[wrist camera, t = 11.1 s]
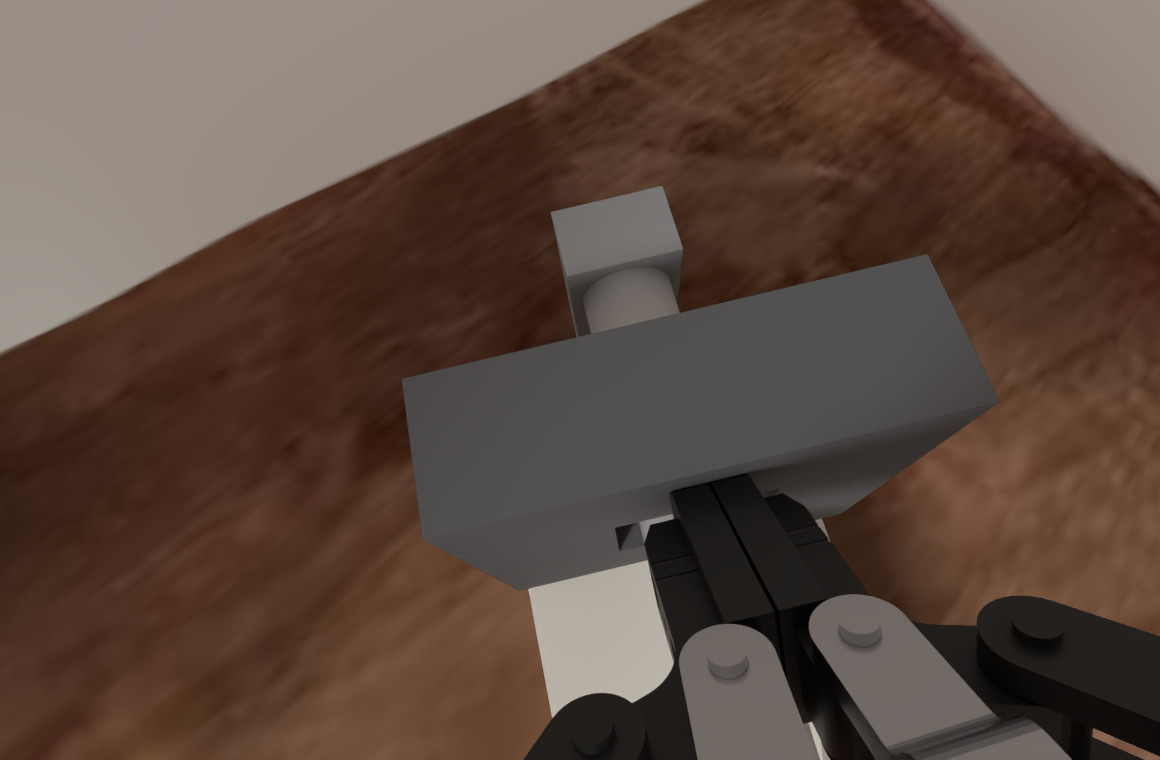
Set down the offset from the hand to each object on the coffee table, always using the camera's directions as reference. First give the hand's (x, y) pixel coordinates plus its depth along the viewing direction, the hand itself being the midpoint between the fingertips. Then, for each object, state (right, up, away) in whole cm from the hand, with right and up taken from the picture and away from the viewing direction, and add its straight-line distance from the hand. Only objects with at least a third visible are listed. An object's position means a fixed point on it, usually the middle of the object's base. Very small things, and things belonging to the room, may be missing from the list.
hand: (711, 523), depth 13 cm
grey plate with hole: (0, -1, +8) cm, 8 cm away
